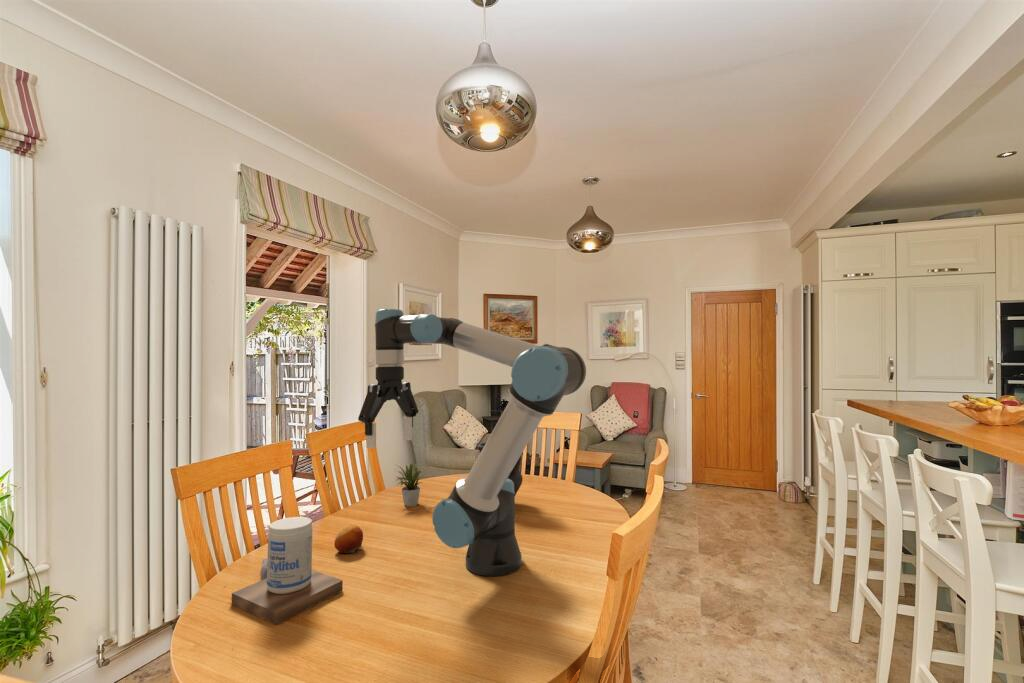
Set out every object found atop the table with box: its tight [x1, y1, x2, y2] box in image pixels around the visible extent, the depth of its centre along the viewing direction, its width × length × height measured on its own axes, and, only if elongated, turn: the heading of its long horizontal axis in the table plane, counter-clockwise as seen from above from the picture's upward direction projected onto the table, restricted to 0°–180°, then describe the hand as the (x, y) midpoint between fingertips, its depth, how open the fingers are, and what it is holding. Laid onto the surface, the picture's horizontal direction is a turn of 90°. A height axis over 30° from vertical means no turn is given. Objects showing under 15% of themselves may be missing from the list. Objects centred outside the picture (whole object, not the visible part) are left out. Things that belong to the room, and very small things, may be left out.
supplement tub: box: [267, 516, 313, 594], centre depth 113 cm, size 10×10×15 cm
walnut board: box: [231, 569, 343, 626], centre depth 112 cm, size 17×17×2 cm
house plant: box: [395, 461, 427, 507], centre depth 184 cm, size 14×14×16 cm
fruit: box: [334, 525, 364, 554], centre depth 140 cm, size 8×8×8 cm
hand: (390, 443), depth 130 cm, fingers open, 13 cm apart
